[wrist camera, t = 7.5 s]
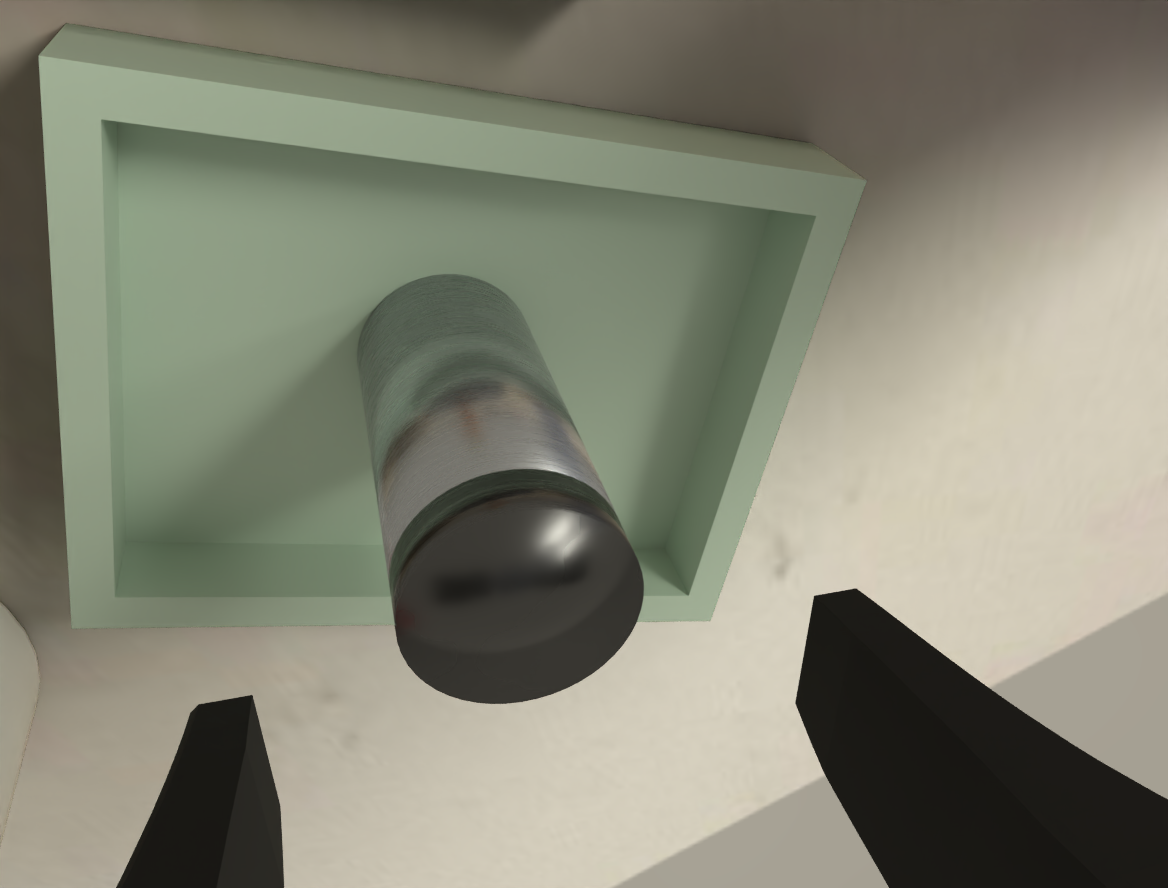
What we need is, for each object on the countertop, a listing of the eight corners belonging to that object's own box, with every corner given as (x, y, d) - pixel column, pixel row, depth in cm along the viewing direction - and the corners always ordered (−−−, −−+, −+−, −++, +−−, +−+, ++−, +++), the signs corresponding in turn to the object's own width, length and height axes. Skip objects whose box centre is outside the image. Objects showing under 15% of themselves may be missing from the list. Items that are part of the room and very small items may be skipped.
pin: (520, 259, 20) (637, 485, 14) (539, 411, 22) (648, 670, 16) (339, 291, 20) (372, 543, 13) (375, 444, 22) (419, 727, 15)
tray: (812, 143, 21) (866, 180, 19) (678, 559, 26) (710, 620, 24) (66, 22, 17) (38, 54, 15) (89, 553, 22) (71, 628, 20)
